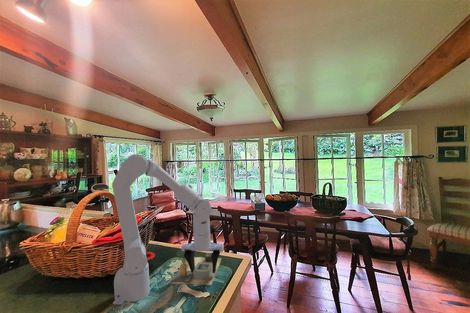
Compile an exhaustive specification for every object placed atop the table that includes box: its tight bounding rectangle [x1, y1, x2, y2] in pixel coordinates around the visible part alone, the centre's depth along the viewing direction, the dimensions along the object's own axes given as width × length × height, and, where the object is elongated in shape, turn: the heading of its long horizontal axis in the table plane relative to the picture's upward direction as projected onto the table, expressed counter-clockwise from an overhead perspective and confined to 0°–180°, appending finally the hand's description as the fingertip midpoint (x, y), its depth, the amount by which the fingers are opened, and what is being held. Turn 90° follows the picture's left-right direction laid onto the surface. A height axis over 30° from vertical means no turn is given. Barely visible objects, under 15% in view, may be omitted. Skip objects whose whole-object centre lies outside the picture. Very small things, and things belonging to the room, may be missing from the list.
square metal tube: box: [193, 263, 213, 280], centre depth 77 cm, size 6×6×3 cm
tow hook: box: [146, 251, 156, 262], centre depth 93 cm, size 8×13×9 cm
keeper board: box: [170, 252, 223, 286], centre depth 81 cm, size 14×18×3 cm
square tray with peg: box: [170, 262, 193, 283], centre depth 76 cm, size 6×6×5 cm
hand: (203, 271), depth 77 cm, fingers open, 7 cm apart
